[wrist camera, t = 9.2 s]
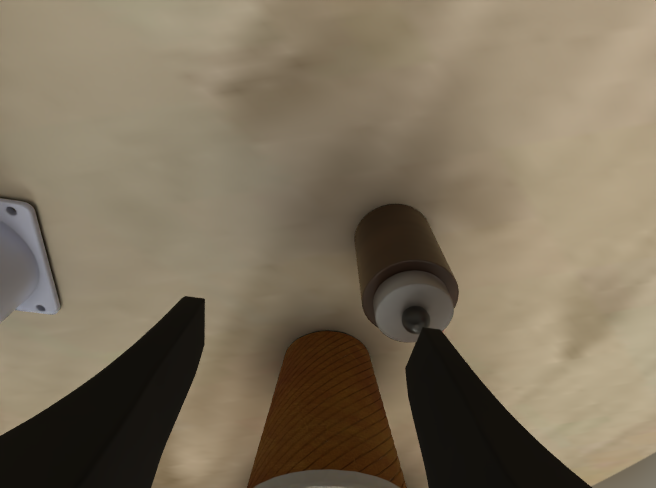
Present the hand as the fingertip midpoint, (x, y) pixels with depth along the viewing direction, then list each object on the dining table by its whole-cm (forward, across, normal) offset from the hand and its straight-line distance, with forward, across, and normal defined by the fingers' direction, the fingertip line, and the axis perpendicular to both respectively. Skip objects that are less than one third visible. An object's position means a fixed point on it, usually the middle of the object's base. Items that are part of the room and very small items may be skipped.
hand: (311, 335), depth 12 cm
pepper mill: (+10, -5, +1) cm, 11 cm away
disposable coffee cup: (+10, -3, +12) cm, 16 cm away
